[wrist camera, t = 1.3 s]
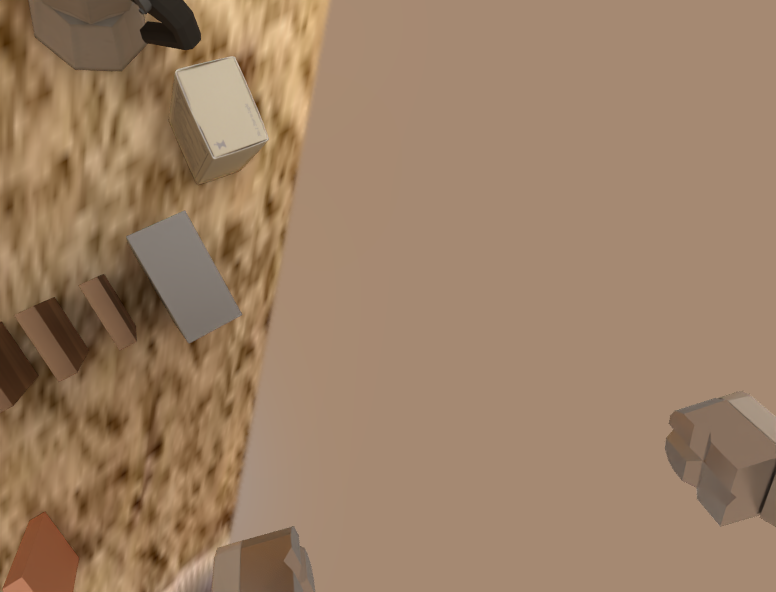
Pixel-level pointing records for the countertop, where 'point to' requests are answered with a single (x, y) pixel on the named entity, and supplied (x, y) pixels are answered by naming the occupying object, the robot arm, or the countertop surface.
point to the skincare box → (215, 119)
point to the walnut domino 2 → (54, 338)
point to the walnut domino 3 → (110, 311)
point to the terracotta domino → (42, 560)
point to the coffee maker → (111, 29)
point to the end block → (184, 276)
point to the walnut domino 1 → (13, 371)
